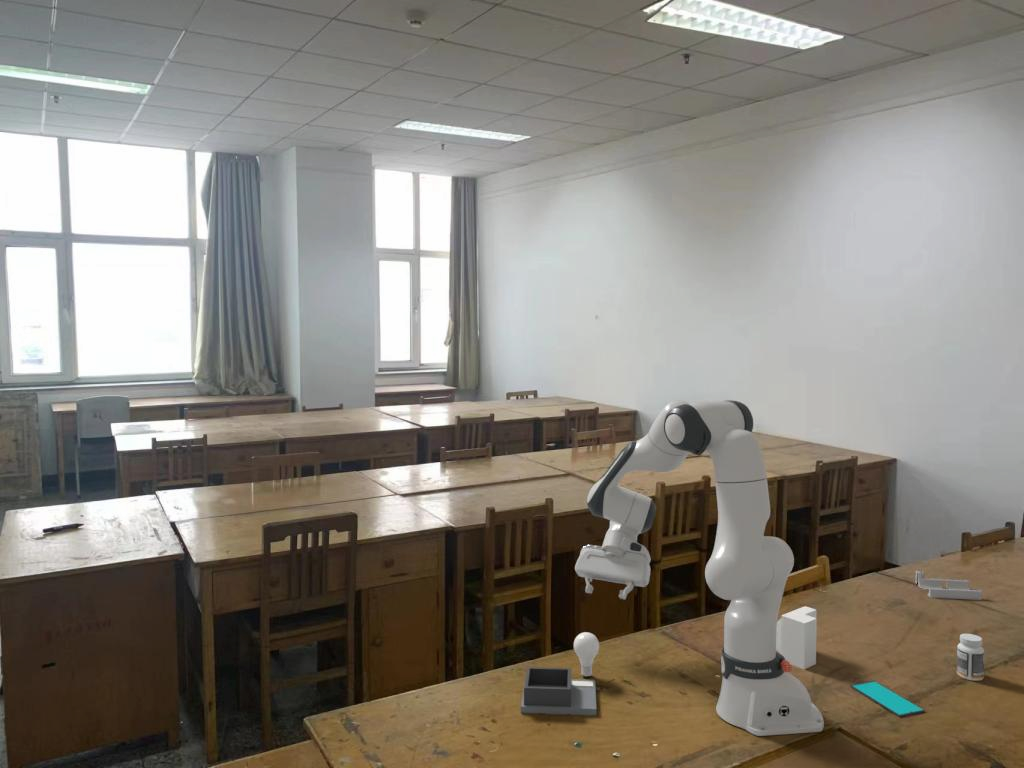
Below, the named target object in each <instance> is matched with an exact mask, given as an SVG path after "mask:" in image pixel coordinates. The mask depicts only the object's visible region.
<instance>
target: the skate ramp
mask: <svg viewBox="0 0 1024 768" xmlns="http://www.w3.org/2000/svg"><path fill="white" fill-rule="evenodd" d="M943 581H944V582H946V586H943V585H942V582H943ZM915 583H916V584H917V583H918V584H917V586H919V587H920V588H923V589H922V590H928V593H927V596H928V597H929V598H931V599H932V598H935V599H952V600H953V599H954V600H976V601H982V600H983V591H982V589H981V588H979V589H971V588H970V581H969V579H968V578H967V579H948V576H946V577H945V576H944V577H943V578H937V577H935V576H934V578H926V577H925V575H924V571H923V570H922V569H920V570H919V569H916V570H915ZM916 584H915V585H916ZM919 587H918V588H919ZM920 588H919V589H920Z"/></svg>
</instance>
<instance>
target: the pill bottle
mask: <svg viewBox="0 0 1024 768" xmlns="http://www.w3.org/2000/svg"><path fill="white" fill-rule="evenodd" d="M959 641H960V642H959V643H958V644H957V647H956V648H957V649H956V650H957V651H956V656H957V657H956V674H957V675H958V676H959V677H961V678H962V679H964V680H968V681H974V682H977V681H978V682H980V681H982V680H983V679H984V677H985V650H984V647H983V646H982V645H983V638H982V637H981V636H979V635H976V634H974V633H973V634H972V633H961V634H960V635H959Z"/></svg>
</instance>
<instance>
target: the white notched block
mask: <svg viewBox="0 0 1024 768" xmlns="http://www.w3.org/2000/svg"><path fill="white" fill-rule="evenodd" d="M817 625H818V624H817V609H815V608H812V607H809V606H806V605H805V606H801V607H798V608H797V609H794V610H791V611H789V612H787V613H784V614H781V616H780V619H777V631H776V650H778V652H779V653H780V654H781V655H782V656H784V658H785V660H786V661H788V662H789V663H790V665H791V666H794V667H796V668H799V669H802V670H806V669H809V668H810V667H813V666H815V665H816V664H817V632H818V631H817V628H818V627H817ZM776 652H777V651H776Z"/></svg>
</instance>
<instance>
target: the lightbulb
mask: <svg viewBox="0 0 1024 768" xmlns="http://www.w3.org/2000/svg"><path fill="white" fill-rule="evenodd" d="M573 650H574V652H575V654H576V655H577V658H578V659H579V663H580V666H581V669H580V670H581V671H580V673H581V676H584V677H586V678H588V677H590V676H592V675H593V672H592V671H593V664H594V659H595V657H596V656H597V655H598V653H599V650H600V643H599V639H598V638H597V637H596V635H595V634H593V633H591V632H587V631H584V632H581V633H579V634H578V635H576V637H575V638H574V641H573Z"/></svg>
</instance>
